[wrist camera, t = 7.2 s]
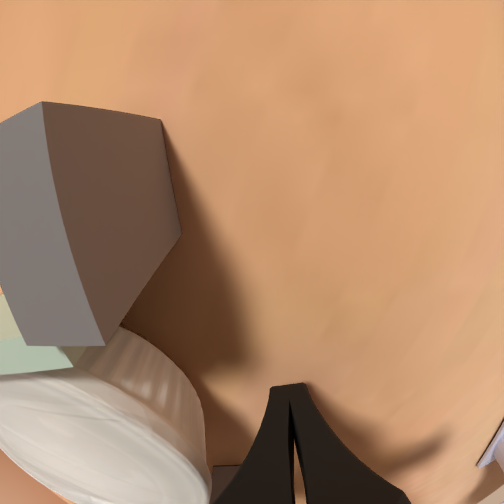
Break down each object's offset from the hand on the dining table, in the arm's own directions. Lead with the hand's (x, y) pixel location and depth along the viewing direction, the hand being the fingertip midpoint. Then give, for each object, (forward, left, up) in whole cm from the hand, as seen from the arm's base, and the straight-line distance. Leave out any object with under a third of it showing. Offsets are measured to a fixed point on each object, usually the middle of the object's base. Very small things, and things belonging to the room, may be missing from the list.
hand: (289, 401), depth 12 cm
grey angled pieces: (+4, +2, -1) cm, 5 cm away
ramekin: (+9, 0, -2) cm, 9 cm away
